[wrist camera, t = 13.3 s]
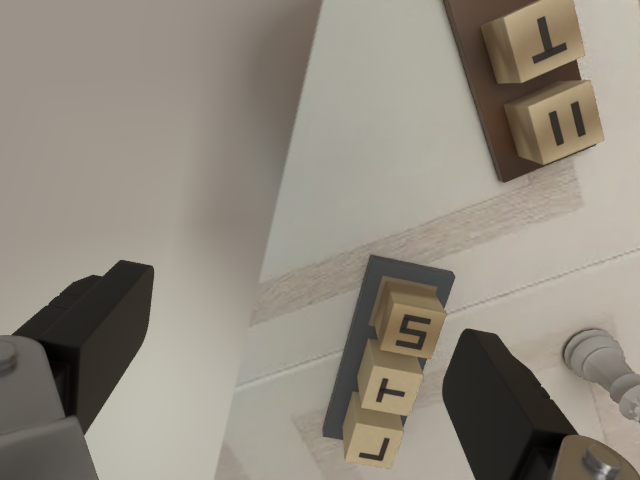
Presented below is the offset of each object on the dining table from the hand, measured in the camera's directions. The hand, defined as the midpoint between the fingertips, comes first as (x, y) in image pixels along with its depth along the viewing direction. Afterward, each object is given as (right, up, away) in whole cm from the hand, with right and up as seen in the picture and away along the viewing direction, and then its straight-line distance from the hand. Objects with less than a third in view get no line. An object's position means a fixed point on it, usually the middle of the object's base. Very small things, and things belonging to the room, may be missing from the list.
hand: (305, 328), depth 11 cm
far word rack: (+6, -8, +28) cm, 30 cm away
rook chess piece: (+24, -7, +28) cm, 37 cm away
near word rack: (+14, +16, +20) cm, 29 cm away
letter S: (+7, -3, +25) cm, 26 cm away
